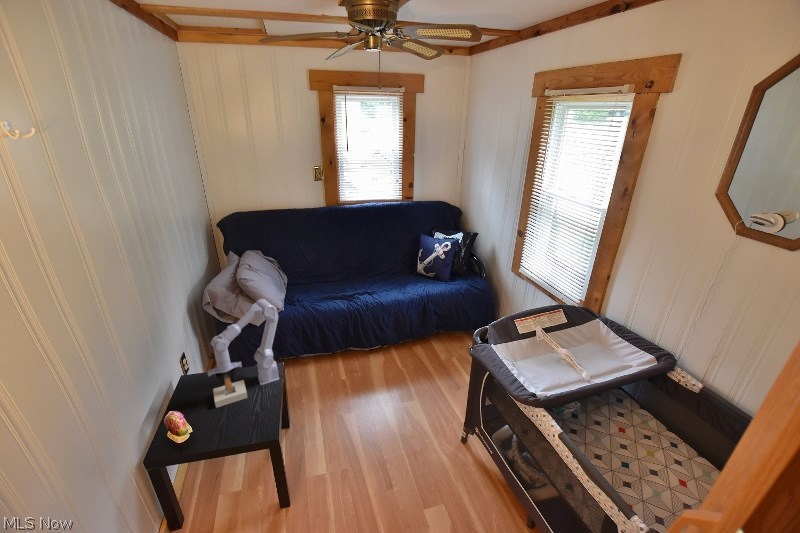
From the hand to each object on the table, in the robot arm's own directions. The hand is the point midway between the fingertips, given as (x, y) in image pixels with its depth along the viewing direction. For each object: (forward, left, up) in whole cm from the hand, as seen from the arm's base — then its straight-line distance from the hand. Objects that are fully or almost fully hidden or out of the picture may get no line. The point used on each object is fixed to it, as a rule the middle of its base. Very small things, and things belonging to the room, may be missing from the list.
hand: (228, 382), depth 176 cm
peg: (0, 0, -3) cm, 3 cm away
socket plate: (0, 0, -8) cm, 8 cm away
